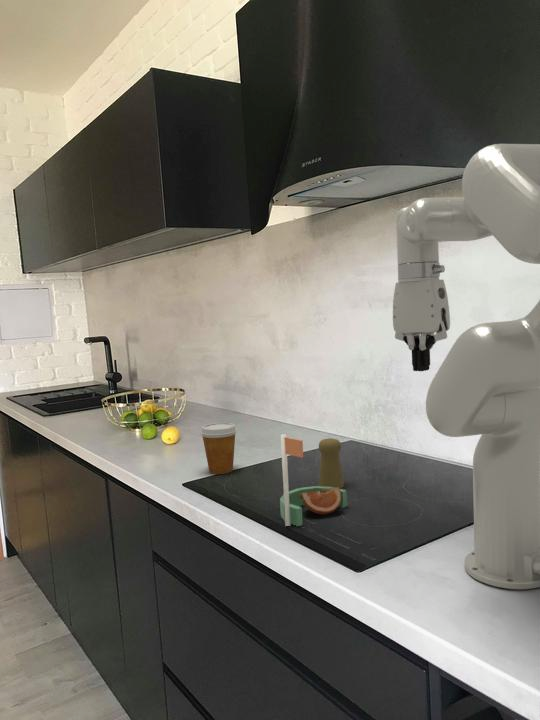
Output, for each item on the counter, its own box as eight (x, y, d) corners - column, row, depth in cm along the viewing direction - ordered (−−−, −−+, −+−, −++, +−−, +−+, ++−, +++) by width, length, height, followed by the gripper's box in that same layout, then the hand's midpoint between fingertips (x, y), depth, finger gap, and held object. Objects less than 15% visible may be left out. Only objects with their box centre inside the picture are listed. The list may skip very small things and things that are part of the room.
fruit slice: (306, 521, 116) (305, 496, 116) (296, 510, 123) (295, 487, 122) (346, 515, 118) (345, 491, 118) (334, 504, 125) (333, 481, 124)
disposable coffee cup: (232, 464, 161) (230, 420, 160) (243, 472, 152) (241, 427, 151) (199, 469, 158) (196, 425, 157) (208, 478, 149) (205, 431, 148)
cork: (349, 484, 138) (347, 438, 137) (334, 490, 134) (332, 443, 133) (328, 479, 142) (326, 435, 141) (313, 486, 138) (311, 440, 137)
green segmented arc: (358, 510, 120) (355, 423, 119) (304, 533, 110) (299, 438, 108) (315, 497, 130) (312, 417, 128) (261, 517, 119) (256, 430, 117)
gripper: (465, 270, 107) (467, 369, 109) (396, 276, 118) (399, 366, 120) (443, 270, 102) (446, 374, 104) (374, 276, 113) (377, 371, 115)
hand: (421, 370), depth 112 cm, fingers closed
